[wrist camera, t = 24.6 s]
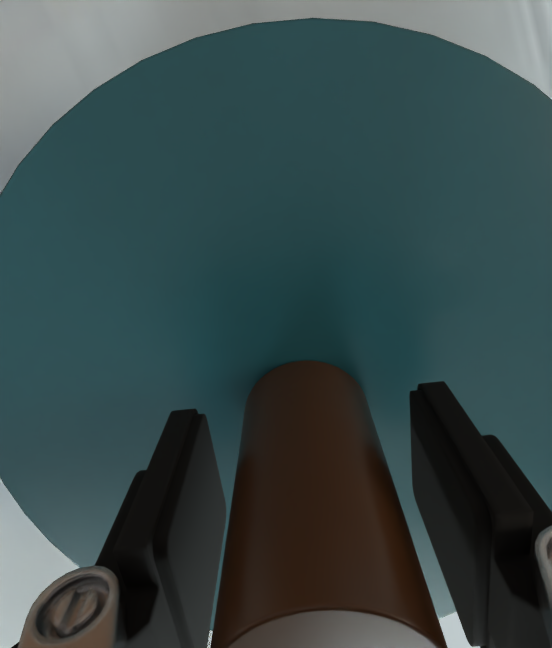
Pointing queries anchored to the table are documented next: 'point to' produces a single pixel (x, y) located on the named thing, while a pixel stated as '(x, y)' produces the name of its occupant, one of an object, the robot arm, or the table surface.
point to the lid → (282, 307)
